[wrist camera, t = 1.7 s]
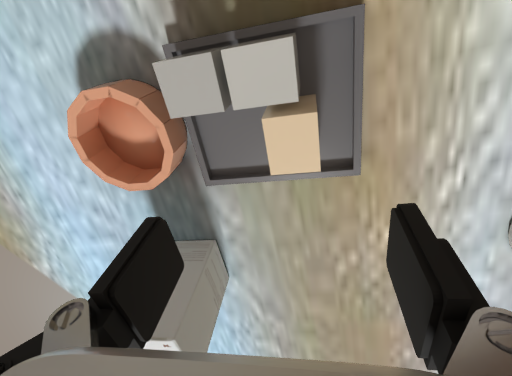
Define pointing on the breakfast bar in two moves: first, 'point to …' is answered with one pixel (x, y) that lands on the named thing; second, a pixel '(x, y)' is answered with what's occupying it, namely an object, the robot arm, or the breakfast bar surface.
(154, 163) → the bowl
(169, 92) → the grey cube
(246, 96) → the grey cube
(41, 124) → the breakfast bar surface
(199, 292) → the supplement box
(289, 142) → the beige rectangular block
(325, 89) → the tray
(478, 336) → the robot arm
